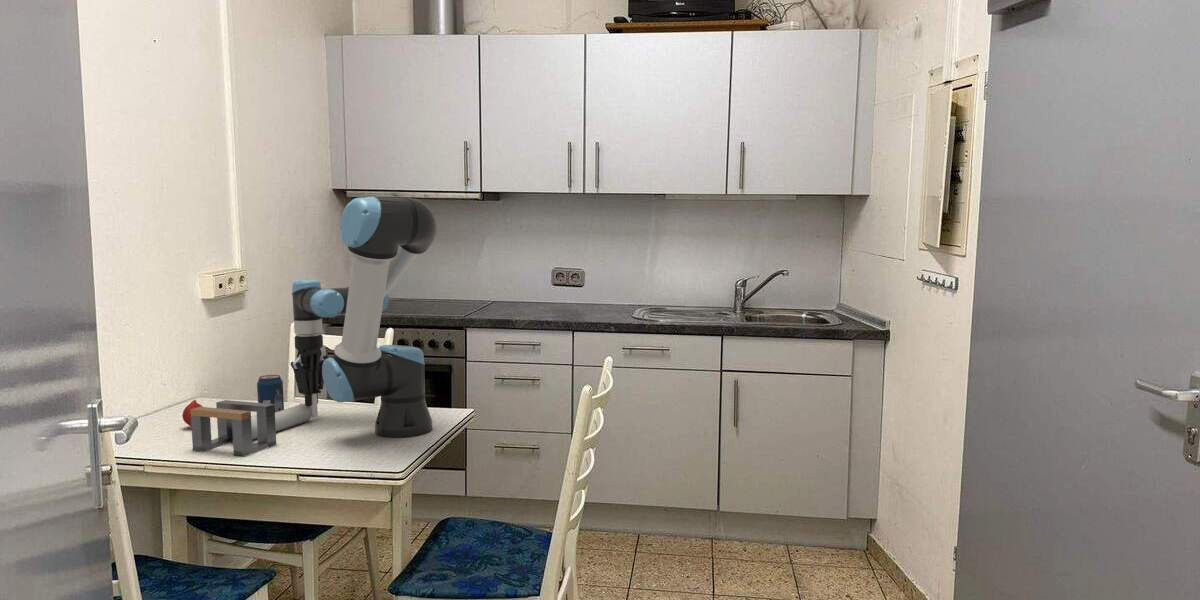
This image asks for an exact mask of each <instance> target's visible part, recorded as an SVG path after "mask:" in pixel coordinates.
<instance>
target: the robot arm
mask: <svg viewBox="0 0 1200 600" xmlns="http://www.w3.org/2000/svg"><path fill="white" fill-rule="evenodd" d="M437 230H438V228H437V220H436V217H435V215H434V213H433V211H432V209H431V208H430V207H429V206H428V205H427V204H426V203H425V202H422V201H421V200H419V199H416V198H412V197H379V196H378V197H377V196H367V197H356V198H354V199H352V200H351V201H350V202H348V203H347V205H346V206H345V208H344V209H343V212H342V214H341V218H340V231H341V233H340V236H341V239H342V241H343V243H344V244H345V245H346V246H347V251H348V253H350V254H351V256H352V261H351V268H350V270H351V271H350V276H349V277H350V278H349V284H348V286H347V287H335V288H334V287H333V288H332V287H331V288H329V287H328V288H322V287H321V282H320V281H319V280H318V279H296V280H295V281H293V282H292V287H291V289H292V291H291V296H292V308H293V309H292V310H293V311H292V312H293V327H294V328H293V329H294V334H295V336H294V349H296V350H297V352H296V353H297V354H296V360H294V361H291V362H290V366H291V368H292V371H293V373H294V379H295V382H296V387H297V390H298V393H299V394H300V395H303V396H304V404H305V405H306V406H309V407H310V408H311V409H312V417H311V418H316V417H318V416H319V413H318V410H319V409H318V404H319V395H318V394H321V393H322V390H323V389H324V386H325V389H326V391H327V394H328V395H329V397H330V398H331V399H332V400H333V401H334V402H337V403H348V402H350V403H353V402H355V401H361V400H367V399H372V398H378V397H380V406H379V409H378V413H377V417H376V418H375V419H376V420H375V423H374V433H375V434H376V435H378V436H382V437H387V438H406V437H414V436H419V435H424V434H426V433H429V432H431V431H432V430H433V418H432V417H431V414H430V411H429V408H428V406H427V401H426V391H425V390H426V383H425V380H426V379H425V365H426V363H425V357H424V352H423V350H422V349H421V348H419V347H417V346H416V347H415V346H409V345H397V344H384V345H380V346H379V347H378V346H377V345H378V341H379V340H378V339H379V334H380V333H379V332H380V326H381V319H382V313H383V311H385V310H386V309H387V308H388V305H389V302H390V296H389V295H390V294H389V292H390V291H391V290H392V288H393V287H394V286H395V285H396V283H398V281H399V279H400V278H401V277H402V276H403V274H404V273H405V272H406V270H408V268H409V267H410V266H411V264H412V263H413V262H414V261H415V260H416V258H417V257H418V255H422V254H424V253H425V252H427V251H428V249H429V248H430V247H431V245H432V244H433V242H434V240H435V237H436V236H437ZM343 315H344V322H343V329H342V337H341V342H339V343H338V344H336V345H335V346H334V349H333V357H329V356H328V355H324V354H323V353H322V349H321V348H323V347H324V335H323V334H322V333H323V318H334V317H336V316H343Z"/></svg>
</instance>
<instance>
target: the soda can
mask: <svg viewBox="0 0 1200 600" xmlns="http://www.w3.org/2000/svg"><path fill="white" fill-rule="evenodd" d="M256 387H257V403H266V404H274V405H275V412H279V411H282V410H285V403H284V402H285V401H284V400H285V399H284V381H283V380H282V378H281V375H280V374H267V375H261V376H259V377H258V381H257V383H256Z"/></svg>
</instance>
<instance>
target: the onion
mask: <svg viewBox="0 0 1200 600" xmlns="http://www.w3.org/2000/svg"><path fill="white" fill-rule="evenodd" d="M197 407H204V406H203V405H202V404H200V403H198V402H197V399H192V401H190V403H189V404H188V405H187V406H185V408H184V409H183V411H182V420H183V421H184V423H185V424H186V425H188V426H189V427H191V428H192V426H191V409H194V408H197Z"/></svg>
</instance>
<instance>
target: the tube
mask: <svg viewBox="0 0 1200 600" xmlns="http://www.w3.org/2000/svg"><path fill="white" fill-rule="evenodd" d="M312 418H313V417H312V409H311V408H310V407H309V406H306V405H305V403H299V404H298V405H295V406H291V407H288V408H286V409H285V408H284V410H282V411H279V412H275V426H276V433H278V432H280V430H281V431H282V430H286V429H289V428H291V427H295V426H297V425H300V424H303V423H308V421H309V422H310V420H311V419H312ZM251 427H252V441H254V440H253V439H255V440H257V439H256V438H258V431H257V418H253V419H251ZM277 431H278V432H277Z"/></svg>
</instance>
